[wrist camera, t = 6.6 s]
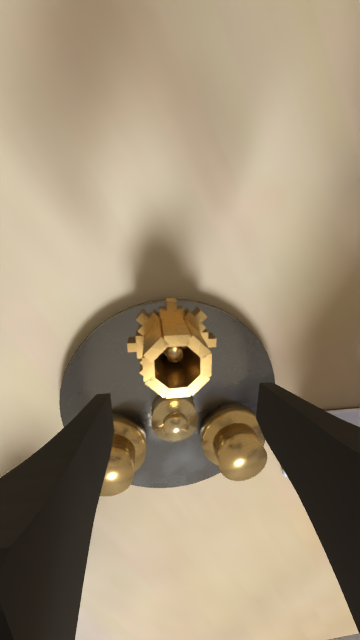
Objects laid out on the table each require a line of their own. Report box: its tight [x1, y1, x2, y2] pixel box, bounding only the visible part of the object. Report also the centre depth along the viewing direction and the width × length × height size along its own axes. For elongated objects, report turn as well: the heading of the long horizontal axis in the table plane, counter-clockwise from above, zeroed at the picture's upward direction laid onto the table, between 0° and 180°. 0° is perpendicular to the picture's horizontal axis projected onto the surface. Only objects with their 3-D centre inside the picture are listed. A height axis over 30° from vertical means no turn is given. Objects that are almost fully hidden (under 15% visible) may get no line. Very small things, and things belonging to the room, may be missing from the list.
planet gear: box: [127, 298, 217, 399], centre depth 16 cm, size 7×7×5 cm
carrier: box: [60, 300, 275, 496], centre depth 19 cm, size 19×19×4 cm
